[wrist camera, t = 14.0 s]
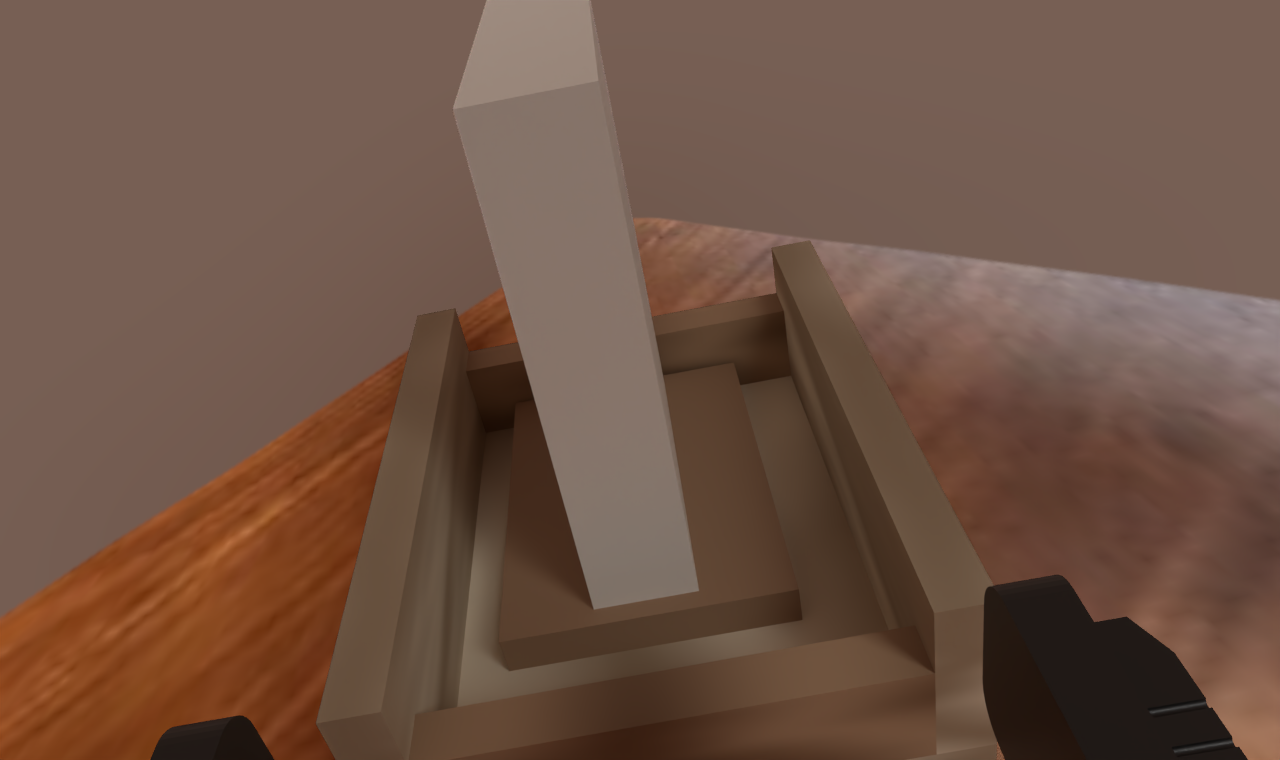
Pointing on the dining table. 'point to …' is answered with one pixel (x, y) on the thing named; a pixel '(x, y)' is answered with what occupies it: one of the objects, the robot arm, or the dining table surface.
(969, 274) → the dining table surface
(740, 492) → the place card sign
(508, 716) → the brown wooden tray
